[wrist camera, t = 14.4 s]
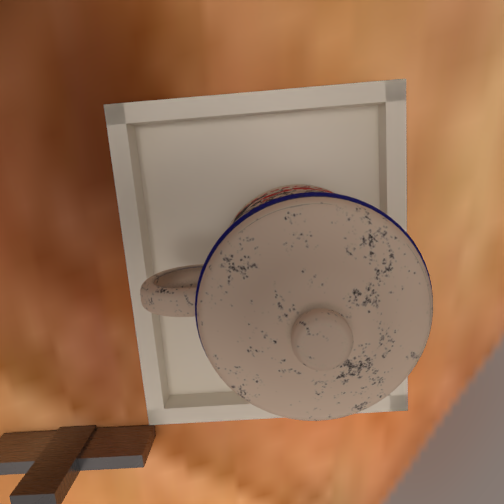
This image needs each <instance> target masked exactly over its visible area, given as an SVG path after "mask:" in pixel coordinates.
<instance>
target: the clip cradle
mask: <svg viewBox="0 0 504 504" xmlns="http://www.w3.org/2000/svg"><path fill="white" fill-rule="evenodd" d="M155 436H156V434H155V427H154V425H143V426H125V427H108V428H97V427H96V425H94V426H77V427H60V428H59V429H58V430H55V431H38V432H20V433H4V434H3V435H2V436H1V437H0V475H7V474H25V476H24V477H23V478H22V480H21V481H20V482H19V484H18V485H17V486H16V488H15V489H14V490H13V492H12V493H11V494H10V501H11V504H61V503H62V502H63V500H64V498H65V496H66V495H67V493H68V491H69V489H70V488H71V486H72V484H73V482H74V481H75V479H76V477H77V476H78V474H79V472H80V471H82V470H100V469H119V468H138V467H144V466H145V463H146V460H147V458H148V455H149V452H150V450H151V447H152V444H153V442H154V439H155Z"/></svg>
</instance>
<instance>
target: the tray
mask: <svg viewBox="0 0 504 504" xmlns="http://www.w3.org/2000/svg"><path fill="white" fill-rule="evenodd" d="M104 111H105V118H106V125H107V132H108V139H109V146H110V153H111V160H112V167H113V174H114V181H115V188H116V195H117V202H118V209H119V216H120V223H121V230H122V237H123V244H124V251H125V258H126V266H127V273H128V280H129V287H130V294H131V301H132V308H133V315H134V322H135V329H136V336H137V343H138V350H139V357H140V364H141V371H142V378H143V385H144V392H145V399H146V406H147V413H148V420H149V425H161V424H179V423H196V422H214V421H231V420H249V419H266V418H284V417H281V416H278V415H275V414H272V413H269V412H267V411H264V410H262V409H260V408H258V407H256V406H254V405H252V404H251V403H249V402H247V401H246V400H244V399H243V398H242V397H240V396H239V395H238V394H236V393H235V392H234V391H233V390H232V389H231V388H230V387H229V386H228V385H227V384H226V383H225V382H224V381H223V380H222V379H221V378H220V376H219V375H218V373H217V372H216V371H215V369H214V368H213V366H212V364H211V363H210V361H209V359H208V358H207V356H206V354H205V351H204V349H203V347H202V344H201V341H200V338H199V335H198V330H197V326H196V318H195V316H193V317H169V316H162V315H157V314H154V313H151V312H149V311H147V310H146V309H145V308H144V307H143V306H142V303H141V296H140V289H141V285H142V284H143V282H144V281H145V280H147V279H148V278H149V277H151V276H153V275H155V274H157V273H159V272H162V271H165V270H168V269H172V268H176V267H181V266H187V265H196V264H204V263H205V260H206V258H207V256H208V255H209V253H210V251H211V249H212V248H213V246H214V245H215V243H216V242H217V240H218V239H219V238H220V237H221V236H222V234H223V233H224V232H225V231H226V230H227V229H228V227H229V225H230V223H231V221H232V220H233V219H234V217H235V216H236V214H237V213H238V212H239V211H240V210H241V209H242V208H243V207H244V206H245V205H246V204H247V203H248V202H249V201H251V200H252V199H253V198H255V197H257V196H258V195H260V194H262V193H264V192H266V191H268V190H271V189H273V188H277V187H280V186H285V185H294V184H305V185H313V186H317V187H321V188H324V189H327V190H330V191H332V192H334V193H336V194H340V195H345V196H349V197H352V198H355V199H358V200H361V201H363V202H366V203H368V204H370V205H372V206H374V207H376V208H377V209H379V210H381V211H382V212H384V213H385V214H387V215H388V216H389V217H391V218H392V219H393V220H394V221H395V222H397V223H398V224H399V225H400V226H401V227H402V228H403V229H404V230H405V232H406V233H407V155H406V79H396V80H384V81H373V82H361V83H349V84H338V85H326V86H314V87H303V88H291V89H279V90H268V91H256V92H245V93H233V94H221V95H210V96H198V97H186V98H175V99H163V100H151V101H140V102H128V103H116V104H105V105H104ZM406 410H408V376H407V377H406V379H405V380H404V381H403V382H402V383H401V384H400V385H399V386H398V387H397V388H396V389H395V390H394V391H393V392H391V393H390V394H389V395H388V396H386V397H385V398H384V399H382V400H381V401H379V402H378V403H376V404H374V405H372V406H370V407H369V408H367V409H364V410H362V411H360V412H357V413H371V412H389V411H406Z"/></svg>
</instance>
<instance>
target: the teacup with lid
mask: <svg viewBox="0 0 504 504" xmlns="http://www.w3.org/2000/svg"><path fill="white" fill-rule="evenodd" d="M140 296H141V303H142V306H143V307H144V308H145V309H146V310H147V311H149V312H151V313H154V314H157V315H162V316H169V317H193V316H195V318H196V326H197V330H198V335H199V338H200V341H201V344H202V347H203V349H204V351H205V354H206V356H207V358H208V359H209V361H210V363H211V364H212V366H213V368H214V369H215V371H216V372H217V373H218V375H219V376H220V378H221V379H222V380H223V381H224V382H225V383H226V384H227V385H228V386H229V387H230V388H231V389H232V390H233V391H234V392H235V393H236V394H238V395H239V396H240V397H242V398H243V399H244V400H246V401H247V402H249V403H251V404H252V405H254V406H256V407H258V408H260V409H262V410H264V411H267V412H269V413H272V414H275V415H278V416H281V417H285V418H290V419H296V420H307V421H319V420H330V419H336V418H341V417H345V416H349V415H352V414H354V413H357V412H360V411H362V410H364V409H367V408H369V407H370V406H372V405H374V404H376V403H378V402H379V401H381V400H382V399H384V398H385V397H386V396H388V395H389V394H390V393H391V392H393V391H394V390H395V389H396V388H397V387H398V386H399V385H400V384H401V383H402V382H403V381H404V380H405V379H406V377H407V376H408V375H409V374H410V373H411V371H412V370H413V368H414V367H415V365H416V364H417V362H418V360H419V358H420V357H421V355H422V353H423V350H424V348H425V346H426V343H427V340H428V337H429V334H430V329H431V324H432V316H433V295H432V286H431V281H430V277H429V273H428V270H427V267H426V264H425V262H424V260H423V257H422V255H421V253H420V251H419V250H418V248H417V246H416V245H415V243H414V242H413V240H412V239H411V238H410V236H409V235H408V234H407V233H406V232H405V230H404V229H403V228H402V227H401V226H400V225H399V224H398V223H397V222H395V221H394V220H393V219H392V218H391V217H389V216H388V215H387V214H385V213H384V212H382V211H381V210H379V209H377V208H376V207H374V206H372V205H370V204H368V203H366V202H363V201H361V200H358V199H355V198H352V197H349V196H345V195H340V194H336V193H334V192H332V191H330V190H327V189H324V188H321V187H317V186H313V185H305V184H294V185H285V186H280V187H277V188H273V189H271V190H268V191H266V192H264V193H262V194H260V195H258V196H257V197H255V198H253V199H252V200H251V201H249V202H248V203H247V204H246V205H245V206H244V207H243V208H242V209H241V210H240V211H239V212H238V213H237V214H236V216H235V217H234V219H233V220H232V221H231V223H230V225H229V227H228V229H227V230H226V231H225V232H224V233H223V234H222V236H221V237H220V238H219V239H218V240H217V242H216V243H215V245H214V246H213V248H212V249H211V251H210V253H209V255H208V256H207V258H206V260H205V263H204V264H196V265H187V266H181V267H176V268H172V269H168V270H165V271H162V272H159V273H157V274H155V275H153V276H151V277H149V278H148V279H147V280H145V281H144V282H143V284H142V285H141V289H140Z"/></svg>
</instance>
